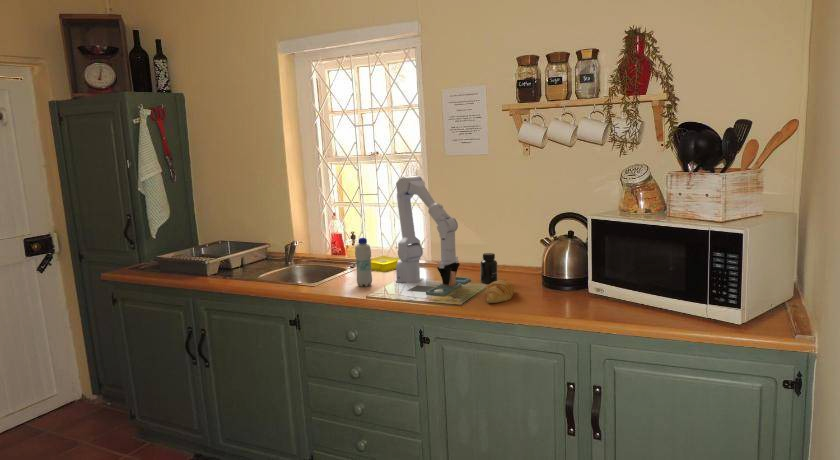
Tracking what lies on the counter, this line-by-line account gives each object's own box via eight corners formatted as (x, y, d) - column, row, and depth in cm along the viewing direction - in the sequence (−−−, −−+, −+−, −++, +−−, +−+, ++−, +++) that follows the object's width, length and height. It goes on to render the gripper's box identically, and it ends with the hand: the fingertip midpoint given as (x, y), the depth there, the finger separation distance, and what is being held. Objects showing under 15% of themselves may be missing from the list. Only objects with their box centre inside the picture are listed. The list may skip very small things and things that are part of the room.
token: (432, 293, 218) (432, 291, 217) (435, 291, 221) (435, 289, 221) (441, 294, 216) (441, 291, 216) (444, 291, 220) (444, 289, 220)
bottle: (375, 284, 239) (373, 236, 236) (367, 288, 233) (365, 239, 230) (361, 283, 241) (359, 236, 239) (353, 286, 235) (350, 238, 233)
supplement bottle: (497, 284, 230) (496, 255, 228) (479, 284, 231) (479, 255, 229) (498, 281, 236) (497, 252, 235) (481, 280, 238) (480, 252, 236)
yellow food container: (406, 267, 273) (406, 257, 273) (384, 273, 262) (383, 262, 262) (384, 264, 283) (383, 254, 283) (361, 269, 272) (361, 259, 272)
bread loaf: (496, 315, 200) (506, 297, 197) (472, 300, 203) (482, 281, 201) (516, 299, 218) (526, 282, 215) (494, 285, 222) (503, 268, 219)
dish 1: (426, 295, 217) (426, 291, 217) (434, 291, 224) (434, 287, 223) (443, 296, 214) (443, 293, 214) (451, 292, 220) (451, 288, 220)
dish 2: (437, 289, 226) (437, 285, 226) (444, 285, 232) (444, 281, 232) (454, 290, 223) (454, 287, 223) (461, 286, 229) (461, 283, 229)
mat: (406, 291, 224) (406, 290, 224) (417, 286, 232) (417, 285, 232) (427, 293, 220) (427, 292, 220) (437, 287, 228) (437, 287, 228)
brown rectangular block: (442, 287, 227) (442, 272, 226) (446, 285, 230) (446, 270, 229) (451, 288, 225) (451, 273, 224) (455, 286, 228) (455, 271, 228)
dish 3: (447, 283, 235) (447, 280, 235) (454, 279, 241) (454, 276, 241) (463, 285, 232) (463, 281, 231) (470, 281, 238) (470, 277, 238)
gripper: (450, 252, 217) (451, 287, 219) (464, 246, 230) (465, 279, 232) (433, 251, 220) (434, 286, 222) (448, 245, 233) (449, 278, 235)
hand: (449, 282), depth 227 cm, fingers open, 5 cm apart
